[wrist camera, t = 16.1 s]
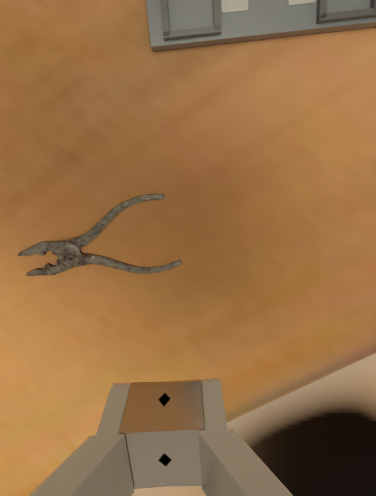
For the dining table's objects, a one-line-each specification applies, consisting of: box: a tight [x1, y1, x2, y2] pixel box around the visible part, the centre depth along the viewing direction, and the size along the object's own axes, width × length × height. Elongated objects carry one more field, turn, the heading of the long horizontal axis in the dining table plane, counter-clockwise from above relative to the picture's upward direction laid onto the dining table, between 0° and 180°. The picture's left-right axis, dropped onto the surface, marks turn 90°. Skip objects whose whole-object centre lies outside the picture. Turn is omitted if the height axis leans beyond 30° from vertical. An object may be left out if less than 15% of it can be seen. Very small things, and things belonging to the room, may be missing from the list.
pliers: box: [18, 194, 182, 276], centre depth 37 cm, size 10×1×20 cm
